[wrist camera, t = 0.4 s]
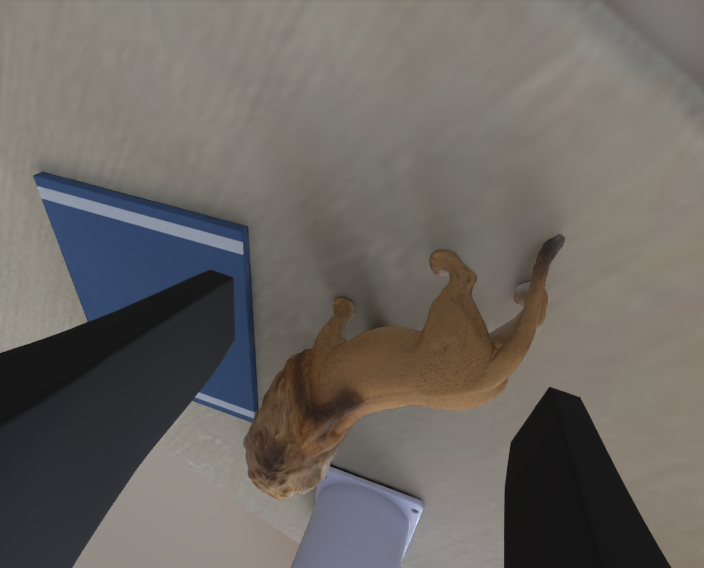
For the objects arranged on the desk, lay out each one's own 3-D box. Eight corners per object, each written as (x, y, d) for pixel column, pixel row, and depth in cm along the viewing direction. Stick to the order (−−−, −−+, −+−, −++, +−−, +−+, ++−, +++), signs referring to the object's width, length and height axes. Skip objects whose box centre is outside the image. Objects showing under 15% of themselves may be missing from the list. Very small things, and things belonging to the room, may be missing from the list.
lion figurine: (350, 384, 26) (285, 533, 19) (288, 324, 25) (195, 459, 18) (596, 275, 17) (644, 475, 10) (520, 172, 16) (517, 321, 9)
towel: (258, 417, 31) (254, 424, 31) (111, 363, 34) (105, 369, 33) (247, 226, 22) (241, 231, 21) (42, 171, 24) (32, 175, 24)
